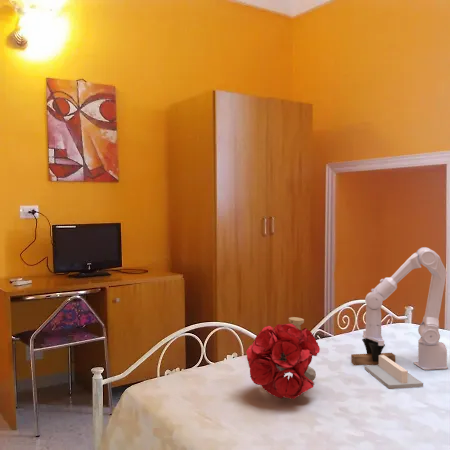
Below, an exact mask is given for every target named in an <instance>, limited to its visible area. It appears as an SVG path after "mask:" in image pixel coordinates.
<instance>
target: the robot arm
mask: <svg viewBox="0 0 450 450" xmlns="http://www.w3.org/2000/svg"><path fill="white" fill-rule="evenodd" d="M422 266H423V267H425V268H426V269H427V270H428V271H429V273H430V274H431V277H430V282H429V289H428V294H427V300H426V305H425V310H424V311H425V312H424V315H423V318H422V322H421V323H420V325H419V326H418V329H417V332H418V334H419V335H420V338H419V339H418V344H417V345H418V346H417V347H418V351H417V352H418V353H417V355H418V356H417V361H414V362H413V364H414V365H416V367H417V366H418V367H419V368H420V369H422V370H423V371H428V370H431V371H432V370H446V369H448V368H449V367H448V366H447V364H448V363H447V362H448V361H447V360H448V354H447V353H448V352H447V351H448V350H447V347H446V344H445V343H444V342H441V341H440V339H441V335H440V331H439V328H440V322H439V319H440V313H441V307H442V303H443V302H442V300H443V294H444V290H445V283H446V278H447V269H446V267H445V265H444V263H443V261H442V259H441V256H440V255H439V254H438V253H437V252H436V251H435V250H433V249H431V248H429V247H426V246H424V247H423V246H422V247H420V248H418V249H417V250H416V252H414V253H412V254H411V256H409V257H408V258H407V259H406V260H405V262H404V263H403V264H401V265H400V267H399V268H398V269H397V270H395V272H394V273H393V274H392V275H391V276H390V277H384V278H381V279H380V280H379V283H378V284H377V285H376V286H375V287H374V288H371V289H370V292H368V293H367V294H366V296H365V298H364V299H365V304H366V305H365V310H366V311H365V330H363V333H362V339H361V340H362V342H363V344H364V345H363V346H364V347H365V351H366V354H372V359H373V362H378V361H379V355H381V353H383V352H382V351H383V349H384V348H385V347H386V344H385V340H384V338H383V336H382V311H381V310H382V306H383V301H385V300H386V299H388V298H389V297H390V296H391V295H392V294H393V293H394V292H395V291H396V290H397V289H398V284H399V282H401V281H402V279H404V278H405V277H406V276H407V275H408V274H409V273H410V272H411V271H413V270H415V269H421V268H422Z"/></svg>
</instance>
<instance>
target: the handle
mask: <svg viewBox="0 0 450 450" xmlns="http://www.w3.org/2000/svg"><path fill="white" fill-rule="evenodd" d="M288 322H289V324H294V325H295V326H296V328H298V329H299V330H301V331H302V329H301V327H302V326H301V325H303V324H304V323H305V319H304V318H301V317H297V316H296V317H295V316H291V317H288Z"/></svg>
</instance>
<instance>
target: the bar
mask: <svg viewBox="0 0 450 450" xmlns="http://www.w3.org/2000/svg"><path fill="white" fill-rule="evenodd" d="M381 355H385V356H386V357H388V358H389V359H391V360H392V361H393V362H395V363H396V354H394V353H393V352H381ZM350 357H351V358H350V362H351V364H352V365H353V366H370V365H379V361H378V362H373V359H372V354H367V353H353V354H350Z"/></svg>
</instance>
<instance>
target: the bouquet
mask: <svg viewBox="0 0 450 450" xmlns="http://www.w3.org/2000/svg"><path fill="white" fill-rule="evenodd" d="M320 350H321V348H320V345H319V344H318V341H317V339H316V337H315V336H314V334H313V333H312V331H310V330H309V329H308V328H307V327H305V328H302V329H301V330H299V329H298V328H296V326H295V325H294V324H291V323H284V324H280V323H278V324H276V325H275V326H271V325H267V326H264V327H263V328H262V329H261V330H260V331H259V332H258V334H257V335H256V337H254V341H252V344H250V345H249V347H247V349H246V351H245V352H246V359H247V363H248V368H249V375H250V378H251V381H252V382H253V383H254V384H255V385H257V386H261V387H262V389H264V391H266V392H267V393H268V394H270V395H271V396H273V397H276V398H279V399H283V398H285V399H291V400H296V399H297V397H299V396H302V394H304V393H305V392H308V391H309V390H312V389H313V388H314V385H315V383H314V380H315V379H316V377H317V376H316V375H317V374H316V370H315V369H314V368H312V367H311V366H310V364H311V363H312V361H313V357H318V354H319V353H320ZM289 373H291V374H292V376H291V375H289ZM286 374H287V375H286Z"/></svg>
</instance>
